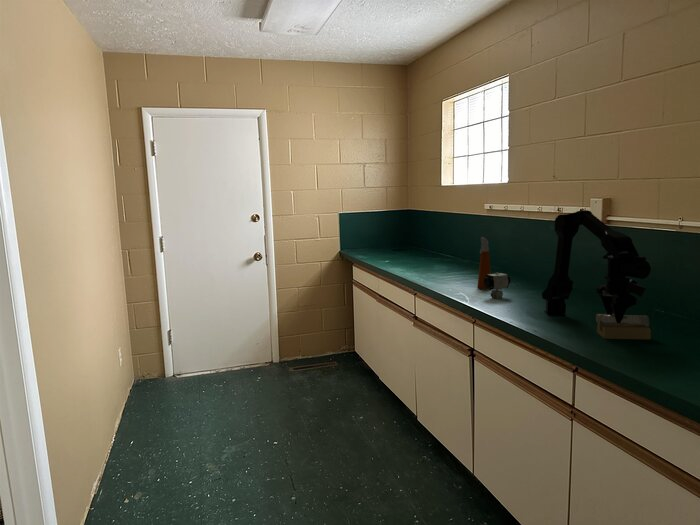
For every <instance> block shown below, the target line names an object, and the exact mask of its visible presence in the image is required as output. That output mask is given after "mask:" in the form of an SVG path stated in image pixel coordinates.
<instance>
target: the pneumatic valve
mask: <svg viewBox="0 0 700 525" xmlns="http://www.w3.org/2000/svg"><path fill="white" fill-rule="evenodd" d="M511 280H512V279H511V277H510V275H509V273H505V272H504V273H503V272H500V273H499V272H498V271H497V272H495V273H491V274H488V275H486V278H485V279H484V285H485V287H486V288H488V289H489V290H491V293H490V297H491V298H492V299H495V300H497V299H498V298H499V299H502V298H503V296H504V293H503V290H502V289H508V288H509V286H510V284H511Z"/></svg>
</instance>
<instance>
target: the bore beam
mask: <svg viewBox="0 0 700 525" xmlns="http://www.w3.org/2000/svg"><path fill="white" fill-rule="evenodd" d="M600 315H607V313H596V314H595V323H596V324H598V323H599V317H600ZM612 315H614V313H612Z"/></svg>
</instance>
